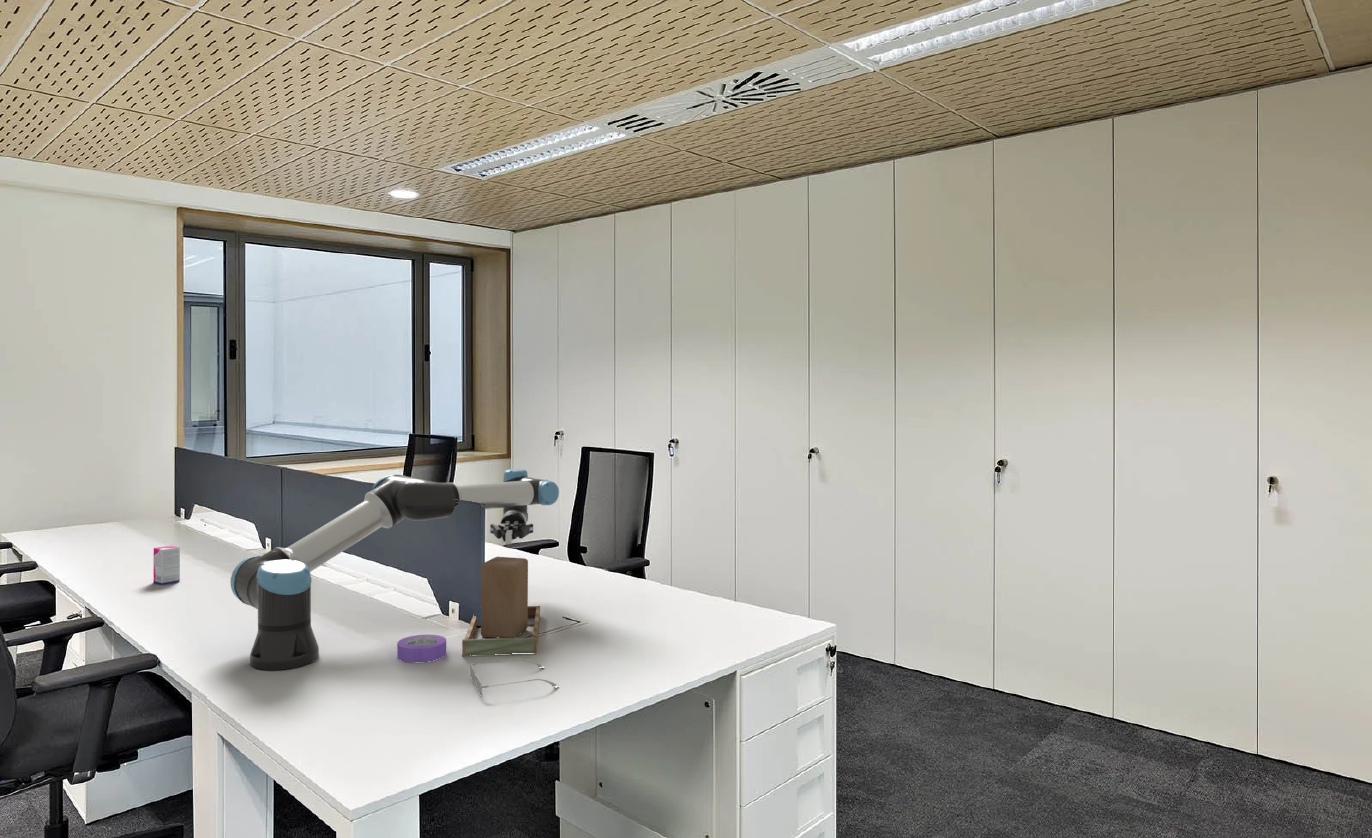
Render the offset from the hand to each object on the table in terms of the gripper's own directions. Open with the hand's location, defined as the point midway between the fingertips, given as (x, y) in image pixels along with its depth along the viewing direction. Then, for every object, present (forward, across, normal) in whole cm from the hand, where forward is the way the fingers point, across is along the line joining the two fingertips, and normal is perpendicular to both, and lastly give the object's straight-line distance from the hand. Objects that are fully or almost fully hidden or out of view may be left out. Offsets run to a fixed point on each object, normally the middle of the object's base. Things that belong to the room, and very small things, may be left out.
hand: (508, 539), depth 240 cm
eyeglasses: (+47, -5, -24) cm, 53 cm away
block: (+10, 0, -24) cm, 26 cm away
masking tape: (+26, +19, -24) cm, 40 cm away
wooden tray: (+11, 0, -24) cm, 26 cm away
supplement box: (-55, +113, -24) cm, 128 cm away
